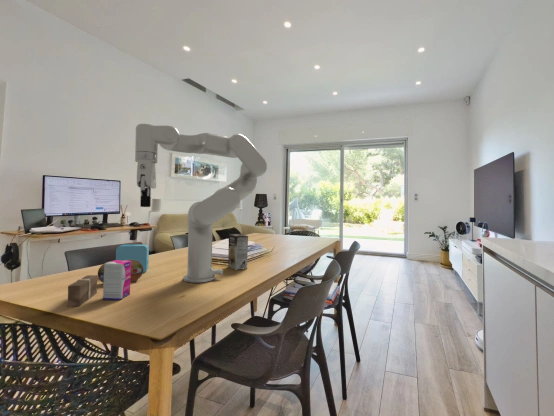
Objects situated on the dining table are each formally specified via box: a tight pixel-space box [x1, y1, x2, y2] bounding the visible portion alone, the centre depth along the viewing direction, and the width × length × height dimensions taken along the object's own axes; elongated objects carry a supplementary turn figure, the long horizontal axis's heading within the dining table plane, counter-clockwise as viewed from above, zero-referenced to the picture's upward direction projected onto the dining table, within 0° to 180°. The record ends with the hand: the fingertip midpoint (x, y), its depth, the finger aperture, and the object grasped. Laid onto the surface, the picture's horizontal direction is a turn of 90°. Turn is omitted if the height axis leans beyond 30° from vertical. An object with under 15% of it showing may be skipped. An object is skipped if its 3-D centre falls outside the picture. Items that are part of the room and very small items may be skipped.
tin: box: [97, 260, 144, 284], centre depth 104 cm, size 15×3×8 cm, turn 117°
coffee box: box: [227, 233, 249, 271], centre depth 132 cm, size 9×6×16 cm
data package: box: [115, 243, 150, 274], centre depth 119 cm, size 12×4×12 cm, turn 105°
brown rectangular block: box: [67, 274, 98, 308], centre depth 85 cm, size 3×12×6 cm, turn 13°
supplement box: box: [102, 259, 131, 301], centre depth 87 cm, size 6×6×12 cm
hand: (145, 206), depth 102 cm, fingers closed
